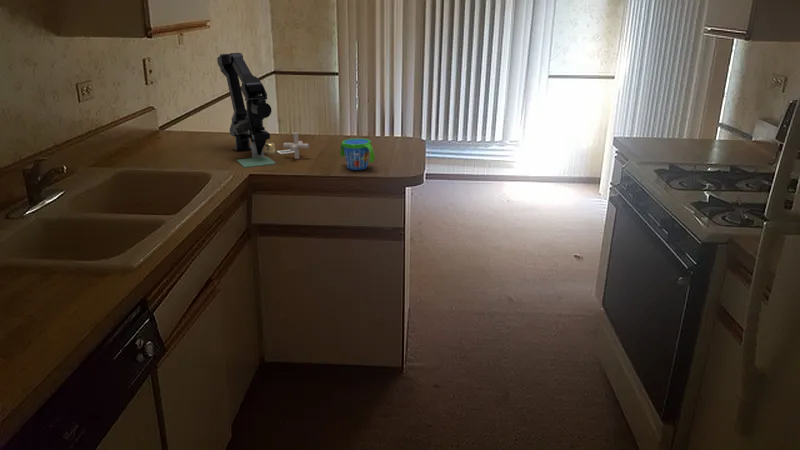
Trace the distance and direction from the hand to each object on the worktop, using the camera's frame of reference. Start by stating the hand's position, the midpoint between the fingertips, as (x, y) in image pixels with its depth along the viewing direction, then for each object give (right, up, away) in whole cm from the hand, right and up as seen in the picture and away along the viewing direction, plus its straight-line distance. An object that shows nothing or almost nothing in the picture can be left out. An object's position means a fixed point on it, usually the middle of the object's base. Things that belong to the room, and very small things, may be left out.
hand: (257, 153), depth 246 cm
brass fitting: (+4, +1, +6) cm, 7 cm away
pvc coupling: (0, -1, 0) cm, 2 cm away
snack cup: (+41, -8, -16) cm, 44 cm away
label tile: (+10, +1, +8) cm, 13 cm away
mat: (+1, -4, -8) cm, 9 cm away
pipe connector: (+16, -2, -2) cm, 16 cm away
